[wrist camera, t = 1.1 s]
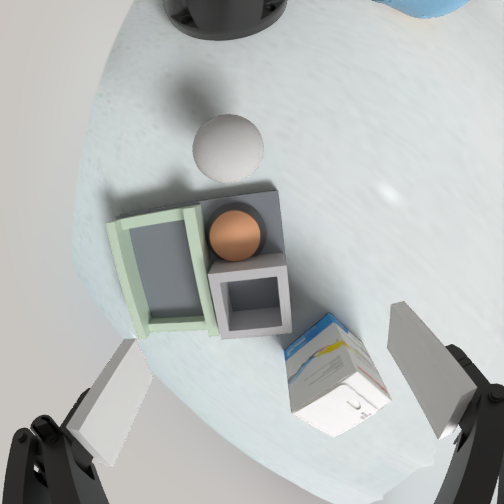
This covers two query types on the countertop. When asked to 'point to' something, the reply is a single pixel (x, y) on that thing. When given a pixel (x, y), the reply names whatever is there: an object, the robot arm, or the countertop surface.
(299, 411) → the ink box
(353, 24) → the countertop surface
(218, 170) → the light bulb
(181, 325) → the compartment tray
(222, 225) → the checker pad
